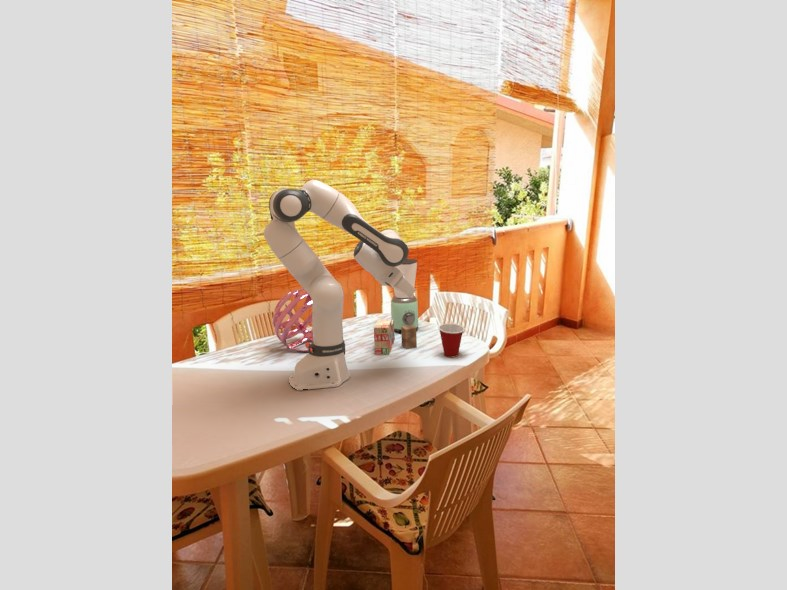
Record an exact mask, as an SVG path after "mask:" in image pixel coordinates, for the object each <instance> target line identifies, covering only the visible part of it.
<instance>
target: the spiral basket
mask: <svg viewBox="0 0 787 590" xmlns="http://www.w3.org/2000/svg"><path fill="white" fill-rule="evenodd" d="M303 291H305V289H304V288H303V287H302V288H299V289H295V290H291V291H289V292H287V293H286V294H285V295H283V296H282V297H281V298H280V299H279V300H278V302H277V303H276V306H275V308H274V313H273V314H272V315H273V317H272V326H273V328H274V333H275V336H276V337H277V338H278V339H279V341H280V343H282V344H283V345H284V346H285V347H286V348H288V349H290V350H291V351H294V352H298V351H305V352H304V353H309V352H308V349H299V348H296V347H293V346H295V345H297V344H299V343H302V342H304V343H307V342H308V341H311V342H312V343H313V331H312V329H311V330H309V329H307V327H308V326H309V325H310V324H312V312H311V313H310V314H309V315H308V316H307V318H306V319H305V320H303V322H300V321H299V319H300V318H301V317H302V316H303V315H304V313H305V312H306V311H308V310H309V309H311V308H312V299H311V297H310V295H309V294H308V293H307V292H306V291H305V292H303ZM301 292H303V293H301ZM293 296H294V299H293V300H292V301H290V302H289V303H288V305H287V304H286V303H287V302H288V301H289V300H290V299H291V298H292V297H293ZM304 298H305V301H304V302H303V304H302V306H300V308H299V309H298V310H296V311H295V312H294V313H293V312H292V311H293V309H295V307H296V306H297V305H298V303H300V302H301V301H302V300H303V299H304ZM283 306H285V308H284V309H283V310H281V309H282V307H283ZM287 315H288V316H289V318H288V319H287V320H285V321H283V320H284V319H285V318H286V316H287ZM294 325H295V329H294V330H291V329H292V328H293V326H294ZM280 330H282V333H280ZM298 334H303V336H302V337H300V338H299V339H298V340H296V341H294V342H291V343H287V340H288V339H292V338H294V337H295V336H297V335H298ZM292 347H293V348H292Z"/></svg>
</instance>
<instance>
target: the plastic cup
mask: <svg viewBox="0 0 787 590" xmlns="http://www.w3.org/2000/svg"><path fill="white" fill-rule="evenodd" d="M437 328H438V330H439V335H440V339H441V345H442V350H443V353H444V354H445V355H446V357H448V356H455V357H457V356H458V355H459V352H460V347H461V343H462V342H461V341H462V336H463V333H464V332H465V327H464V326H463V325H461V324H457V323H443V324H440V325H438V327H437ZM444 354H443V355H444ZM445 355H444V356H445ZM456 355H457V356H456Z"/></svg>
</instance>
